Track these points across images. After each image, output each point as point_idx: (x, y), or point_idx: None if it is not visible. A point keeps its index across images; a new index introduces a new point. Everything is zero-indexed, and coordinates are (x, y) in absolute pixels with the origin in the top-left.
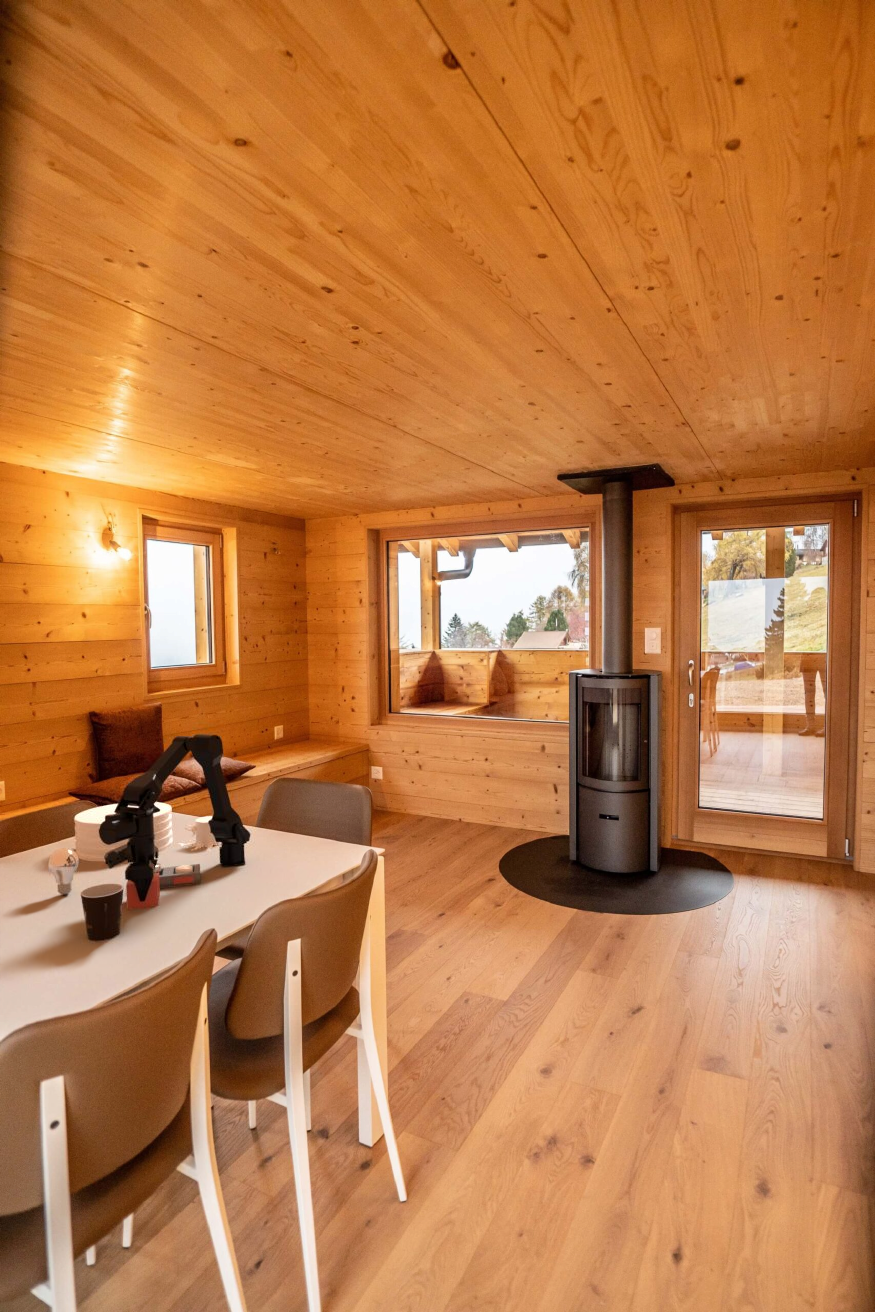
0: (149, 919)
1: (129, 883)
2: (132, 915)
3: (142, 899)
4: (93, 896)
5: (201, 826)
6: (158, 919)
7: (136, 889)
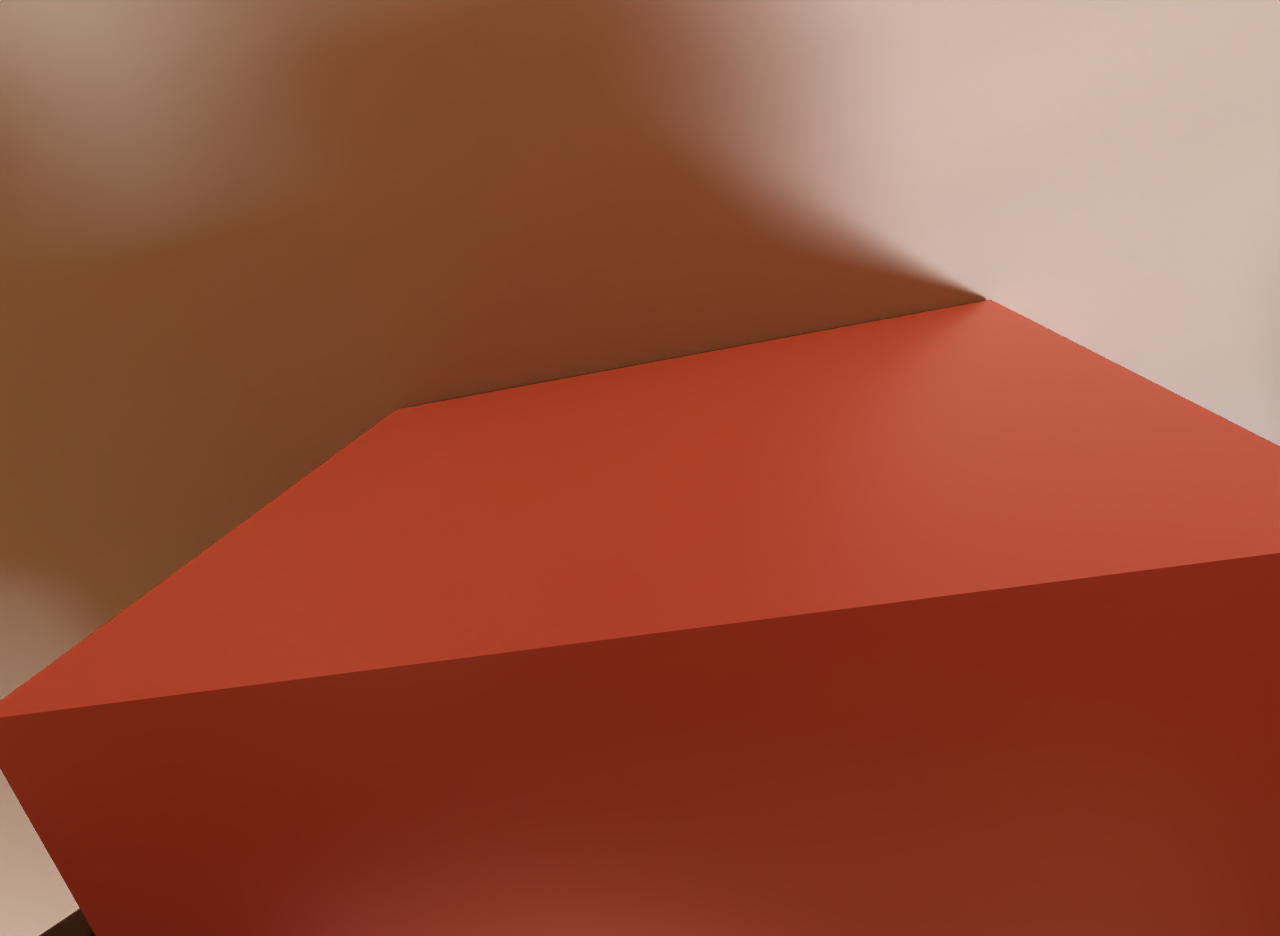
0: (11, 831)
1: (118, 811)
2: (127, 577)
3: None
4: None
5: None
6: (28, 925)
7: (75, 913)
